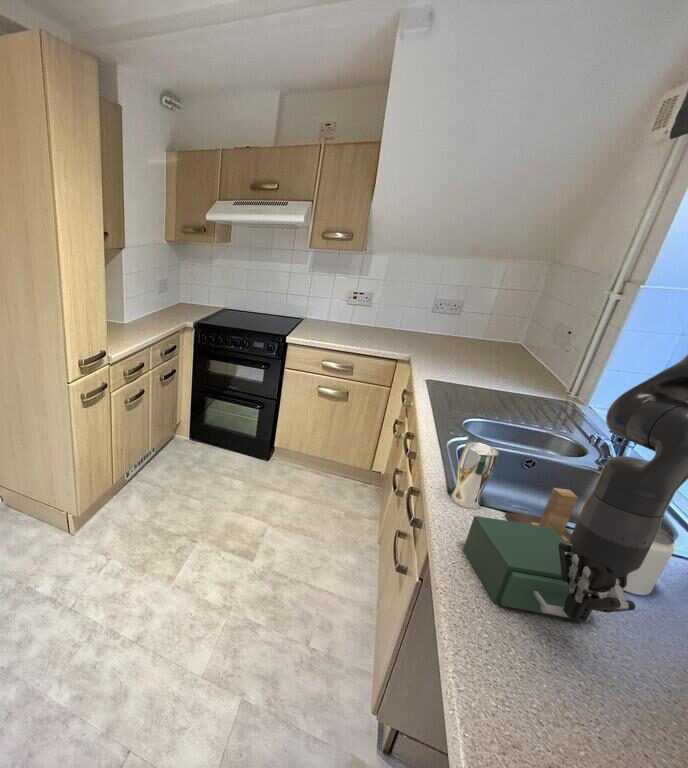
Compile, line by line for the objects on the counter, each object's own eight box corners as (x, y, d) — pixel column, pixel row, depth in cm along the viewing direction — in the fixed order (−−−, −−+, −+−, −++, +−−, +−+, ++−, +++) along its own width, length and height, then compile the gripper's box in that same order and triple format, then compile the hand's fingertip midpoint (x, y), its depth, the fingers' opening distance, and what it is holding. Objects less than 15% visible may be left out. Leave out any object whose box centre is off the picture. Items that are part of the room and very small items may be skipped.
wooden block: (529, 526, 93) (545, 484, 89) (552, 529, 92) (570, 487, 88) (542, 541, 88) (560, 498, 84) (567, 545, 87) (587, 501, 83)
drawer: (603, 643, 66) (620, 612, 64) (514, 626, 69) (527, 595, 67) (543, 566, 82) (555, 539, 79) (472, 554, 84) (481, 527, 82)
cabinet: (583, 620, 72) (603, 581, 68) (493, 603, 74) (508, 565, 71) (538, 562, 84) (553, 527, 81) (462, 549, 87) (474, 515, 84)
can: (597, 565, 84) (621, 516, 79) (641, 578, 81) (668, 529, 76) (608, 587, 78) (634, 536, 74) (655, 602, 75) (685, 550, 71)
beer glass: (445, 500, 103) (461, 448, 98) (452, 489, 107) (468, 438, 102) (478, 514, 98) (496, 459, 93) (484, 501, 103) (502, 449, 98)
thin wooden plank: (553, 523, 96) (555, 519, 95) (595, 568, 83) (598, 563, 82) (504, 516, 98) (506, 511, 97) (538, 558, 85) (540, 554, 85)
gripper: (688, 566, 53) (634, 661, 59) (612, 503, 65) (573, 588, 71) (618, 555, 54) (572, 649, 60) (556, 496, 66) (523, 579, 72)
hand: (573, 616), depth 65 cm, fingers closed
